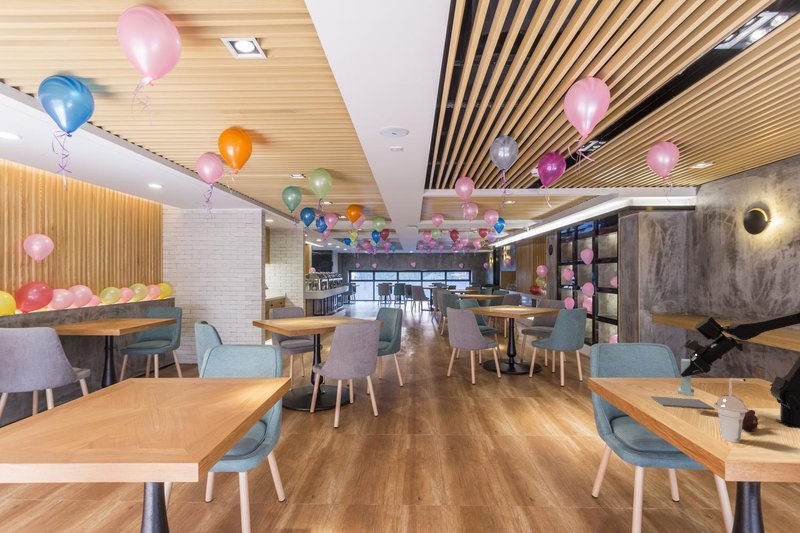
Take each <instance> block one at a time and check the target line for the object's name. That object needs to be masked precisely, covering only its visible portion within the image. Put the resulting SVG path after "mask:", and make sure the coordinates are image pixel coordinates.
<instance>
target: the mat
mask: <svg viewBox="0 0 800 533" xmlns="http://www.w3.org/2000/svg"><path fill="white" fill-rule="evenodd" d="M650 398H651V399H652V400H653V401H656V402H657V403H658V404H660V405H661V406H662V407H671V408H686V409H701V410H711V411H712V410H713V411H715V408H716V407H714V406H712V405H709V404H707V403H706V402H704V401H702V400H700V399H696V398H695V399H694V398H682V397H681V398H680V397H671V396H670V397H666V396H655V395H654V396H650Z"/></svg>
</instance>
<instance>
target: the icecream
mask: <svg viewBox="0 0 800 533" xmlns="http://www.w3.org/2000/svg"><path fill="white" fill-rule="evenodd" d="M755 414H756V410H754V409H748V412H745V417H744V419H743V425H742V431H746V432H752V431H753V430H755V429H757V428H758V425H759V421H758V420H759V418H758V417H757V416H756V415H755Z"/></svg>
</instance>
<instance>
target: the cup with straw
mask: <svg viewBox="0 0 800 533" xmlns="http://www.w3.org/2000/svg"><path fill="white" fill-rule="evenodd" d="M733 381H737V382H738V381H739V382H746V378H740V377H739V378H738V377H730V378H729V379H728V394H723V395H721V396H719V398H718V399H717V401H715V402H714V404H713V407H714V408H716V411H717V415H718V420H719V428H720V429H719V430H720V435H721V439H722V440H724V441H726V442H730V443H736V444H737V443H740V442H741V439H742V431H743V430H742V425H743V419H744V417H745V412H748V410H749V408H748V407H747V406H746V404H745V402H744V401H743V400H742V399H741V397H738V396H736V395H734V394H733V391H732V390H733V388H732V387H733Z"/></svg>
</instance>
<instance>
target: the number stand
mask: <svg viewBox="0 0 800 533" xmlns="http://www.w3.org/2000/svg"><path fill="white" fill-rule="evenodd" d="M680 362H681V363H680V387H677V395H681V396H689V397H695V389H694V388H692V375H691V376H686V377H682V376H681V374H682V372H683V371H684V370H685V369H686V368H687V367H688V366H689V365H690V358H689V359H688V358H681V360H680Z"/></svg>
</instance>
